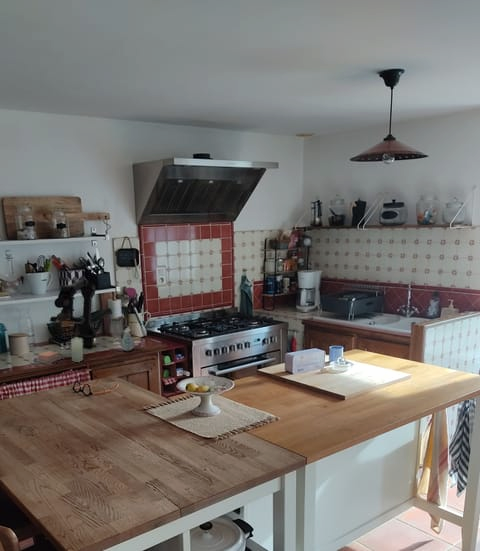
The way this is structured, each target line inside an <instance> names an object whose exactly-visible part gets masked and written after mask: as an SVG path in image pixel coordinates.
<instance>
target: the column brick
mask: <svg viewBox="0 0 480 551" xmlns="http://www.w3.org/2000/svg"><path fill="white" fill-rule="evenodd" d="M70 342H71V343H70V345H71V347H70V348H71V362H72V361H74V362H79V363H81V362H80V361H82V360H83V361H84V352H83V350H84V349H83V338H80V336H79V337H78V336H76V337H73V338H71V339H70ZM83 361H82V362H83Z"/></svg>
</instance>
